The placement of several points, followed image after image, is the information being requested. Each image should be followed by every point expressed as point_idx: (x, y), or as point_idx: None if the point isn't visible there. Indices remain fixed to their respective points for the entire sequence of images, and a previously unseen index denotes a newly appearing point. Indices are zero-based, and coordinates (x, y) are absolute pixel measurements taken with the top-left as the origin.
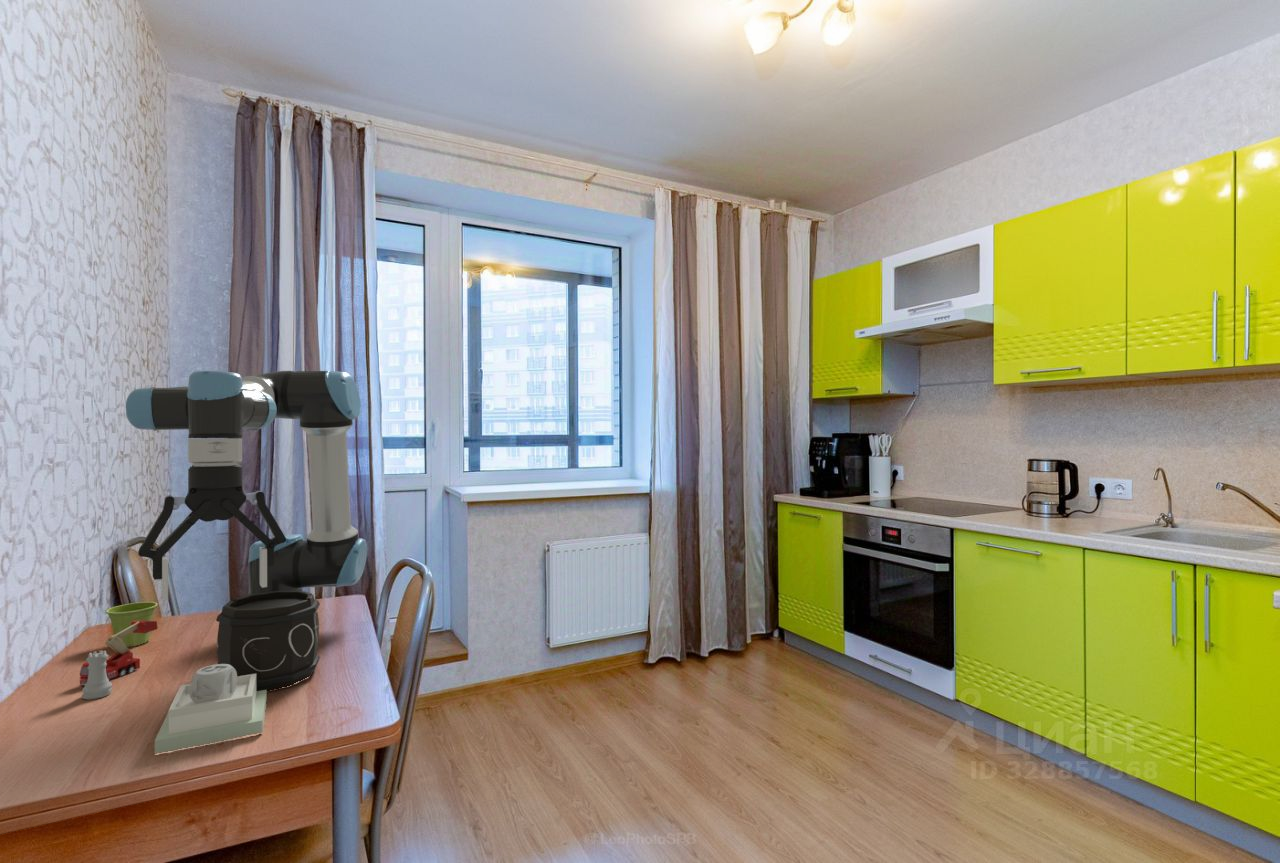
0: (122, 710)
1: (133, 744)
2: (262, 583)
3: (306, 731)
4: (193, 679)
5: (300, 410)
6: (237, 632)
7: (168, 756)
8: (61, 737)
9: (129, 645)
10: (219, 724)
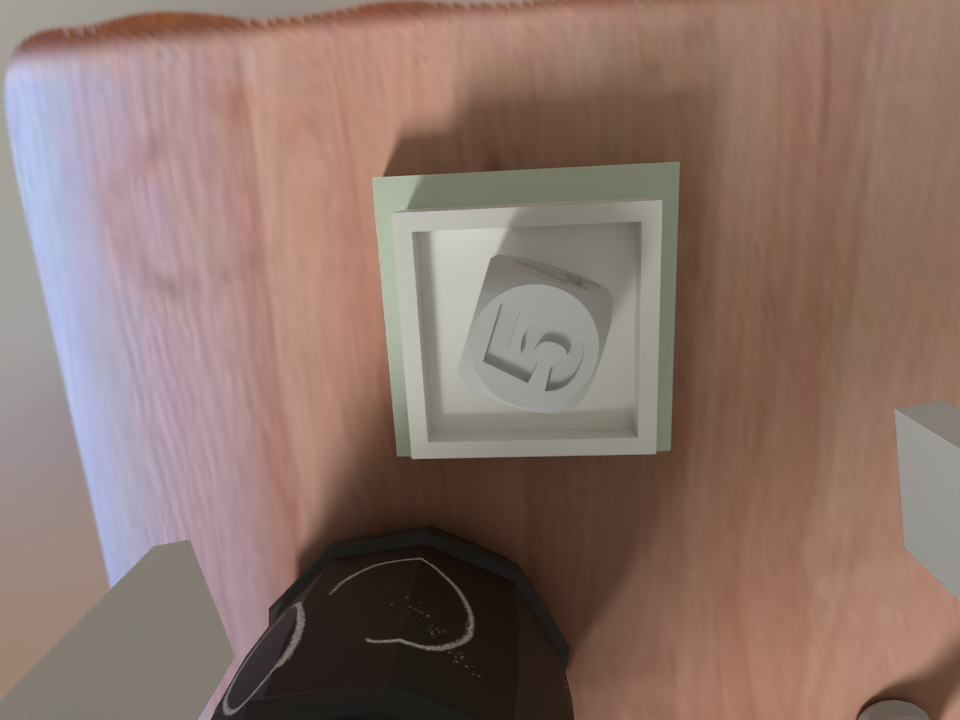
0: (804, 574)
1: (739, 286)
2: (166, 559)
3: (253, 138)
4: (602, 302)
5: None
6: (489, 700)
7: (629, 139)
8: None
9: None
10: (501, 203)
